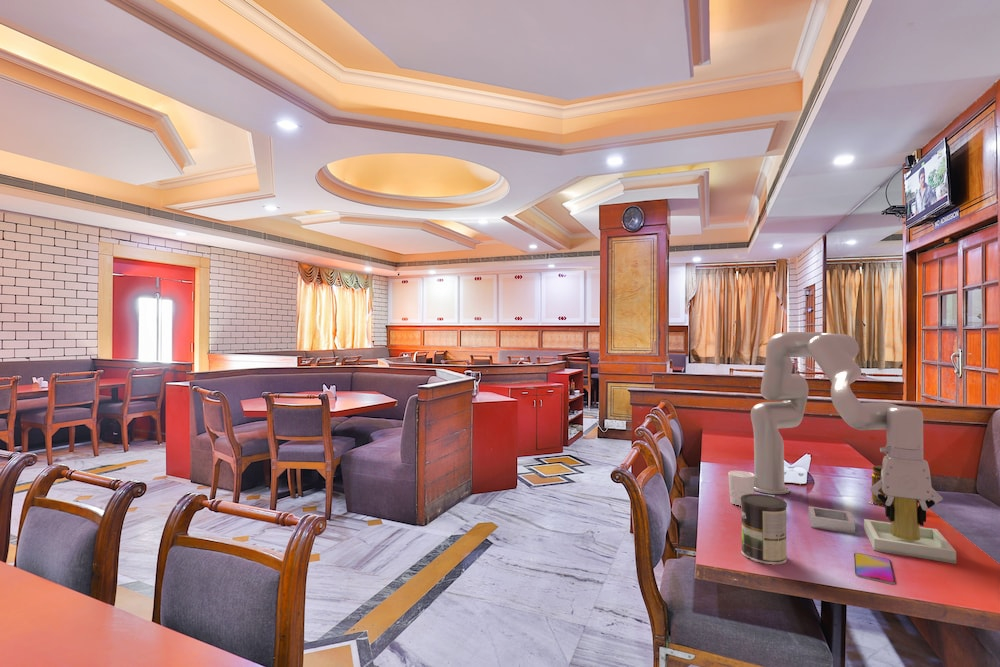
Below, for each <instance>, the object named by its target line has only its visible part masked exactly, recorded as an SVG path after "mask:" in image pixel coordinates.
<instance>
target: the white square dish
mask: <svg viewBox="0 0 1000 667" xmlns="http://www.w3.org/2000/svg"><path fill="white" fill-rule="evenodd" d="M808 519H809V523H810V526H811V528H813V529H819V530H827V531H833V532H840V533H844V534H846V533H847V534H853V535H855V534H856V523H855V521H854V518H853V516H852V513H851V512H850V511H847V510H846V511H845V510H840V509H839V510H838V509H831V508H825V507H823V508H822V507H816V506H808Z"/></svg>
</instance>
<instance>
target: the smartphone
mask: <svg viewBox="0 0 1000 667" xmlns="http://www.w3.org/2000/svg"><path fill="white" fill-rule="evenodd" d="M853 558H854V575H855V576H856V577H858V578H862V579H866V580H871V581H874V582H879V583H883V584H889V585H895V584H896V580H895V575H894V570H893V565H892V561H891V559H888V558H886V557H885V558H884V557H880V556H876V555H871V554H865V553H859V552H854V554H853Z"/></svg>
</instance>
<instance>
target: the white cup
mask: <svg viewBox="0 0 1000 667" xmlns="http://www.w3.org/2000/svg"><path fill="white" fill-rule="evenodd" d="M727 473H728V474H727V476H728V488H729V499H730V504H731V505H733V504H735V505H734V506H736V505H739V506H738V507H740V506H741V496H743V495H746V494H755V490H754V480H755V475H754V473H752V472H749V471H746V470H745V471H744V470H730V471H728V472H727Z"/></svg>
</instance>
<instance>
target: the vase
mask: <svg viewBox="0 0 1000 667" xmlns="http://www.w3.org/2000/svg"><path fill="white" fill-rule="evenodd" d="M892 506H893V508H894V521H893V522H892V521H890V523H891V534H892V535H893V536H895V537H897V538H900V539H904V540H910V541H918V540H920V531H919V527H920V525H919V518H918V507H919V503H918V500H915V499H910V498H899V497H894V499H893V501H892Z"/></svg>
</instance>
